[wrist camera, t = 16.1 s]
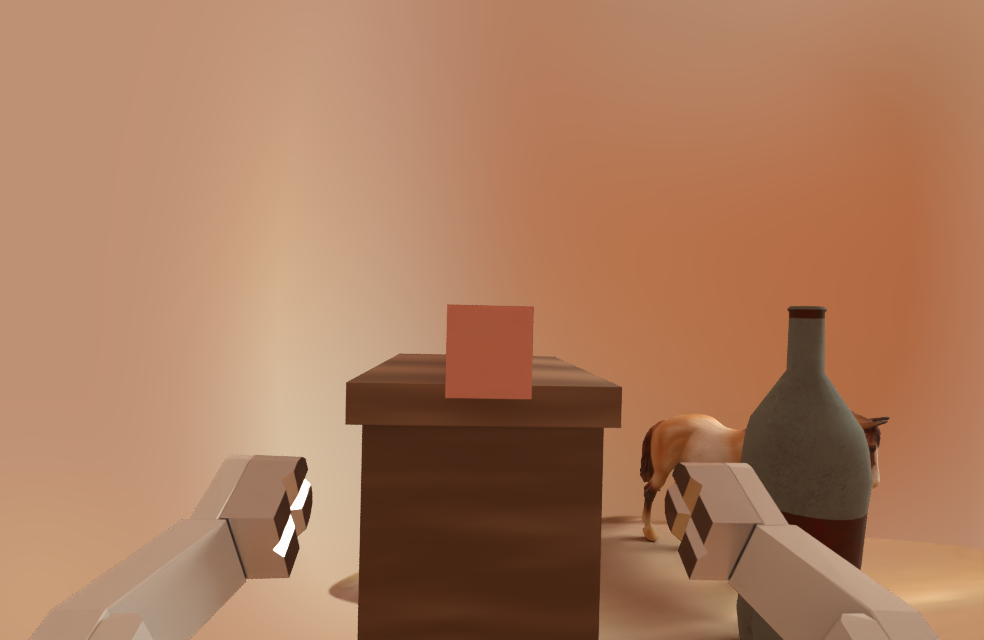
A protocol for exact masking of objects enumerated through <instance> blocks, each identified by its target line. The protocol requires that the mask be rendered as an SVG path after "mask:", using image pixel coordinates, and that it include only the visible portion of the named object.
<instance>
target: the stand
mask: <svg viewBox="0 0 984 640" xmlns="http://www.w3.org/2000/svg"><path fill="white" fill-rule="evenodd" d="M445 384H446V355H439V354H438V355H437V354H436V355H435V354H398V355H396V356H395V357H393V358H391V359H389V360H387V361H385V362H384V363H382V364H380V365H378V366H376V367H374V368H372V369H370V370H369V371H367V372H365V373H363V374H361V375H360V376H358V377H356V378H354V379H352V380H350V381H348V382H347V383H346V424H351V425H354V424H355V425H363V426H362V432H363V433H362V472H361V513H360V515H361V516H360V558H359V560H360V561H359V602H358V606H359V607H358V640H598V637H599V597H600V556H601V515H602V514H601V513H602V475H603V474H602V473H603V434H604V428H621V403H622V387H621V386H618V385H616V384H614V383H612V382H609V381H607V380H605V379H603V378H600V377H598V376H596V375H594V374H592V373H589V372H587V371H585V370H583V369H580V368H578V367H576V366H574V365H571V364H569V363H567V362H565V361H563V360H560V359H558V358H556V357H541V356H537V357H536V356H532V398H531V399H481V398H445Z"/></svg>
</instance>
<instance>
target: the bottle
mask: <svg viewBox="0 0 984 640" xmlns="http://www.w3.org/2000/svg"><path fill="white" fill-rule="evenodd" d="M788 311H789V330H788V352H787V370H786V371H785V373H784V374H783V375H782V376H781V378H780V379H779V380H778V382H777V383H776V384H775V385H774V387H773V388H772V389H771V391H770V392H769V393H768V395H767V396H766V397H765V398H764V400H763V401H762V402H761V403H760V405H759V406H758V407H757V409H756V410H755V411H754V412H753V414H752V415H751V416H750V419H749V422H748V425H747V428H746V431H745V435H744V442H743V448H742V455H741V461H740V463H747V464H748V465H750V466H751V467H752V468H753V470H754V471H755V473H756V475H757V476H758V478H759V479H760V481H761V482H762V484H763V485H764V487H765V488H766V490H767V492H768V493H769V495H770V496H771V498H772V499H773V501H774V502H775V504H776V505H777V507H778V509H779V510H780V512H781V513H782V515H783V516H784V518H785V519H786V521H787V522H788V524H789V525H796V526H798V527H799V528H801V529H802V530H804V531H805V532H806V533H808V534H809V535H811V536H812V537H814V538H815V539H816V540H818V541H819V542H821V543H822V544H823V545H825V546H826V547H828V548H829V549H831V550H832V551H833V552H835V553H836V554H838V555H839V556H841V557H842V558H843V559H845V560H846V561H848V562H849V563H851V564H852V565H853V566H855V567H856V568H858V569H859V570H860V571H861V563H862V555H863V546H864V538H865V529H866V521H867V512H868V507H869V501H870V495H871V490H872V484H873V478H872V469H871V460H870V451H869V446H868V443H867V440H866V436H865V433H864V430H863V428H862V427H861V425H860V424H859V423H858V421H857V420H856V418H855V417H854V415H853V414H852V412H851V411H850V409H849V408H848V406H847V405H846V404H845V402H844V400H843V399H842V398H841V396H840V395H839V393H838V392H837V390H836V389H835V387H834V386H833V384H832V383H831V381H830V380H829V378H828V377H827V375H826V374H825V372H824V366H825V365H824V364H825V363H824V362H825V361H824V359H825V355H824V354H825V347H824V346H825V312H826V311H827V310H826V308H825V307H816V306H815V307H814V306H791V307H789V308H788ZM737 616H738V626H739V636H740V640H784V639H783V638H782V637H781V636H780V635H779V634H778V633H777V632H776V631H775V630H774V629H773V628H772V627H771V626H770V625H769V624H768V623H767V622H766V621H765V620H764V619H763V618H762V617H761V616H760V615H759V614H758V613H757V612H756V611H755V610H754V608H753V607H752V606H751V605H750V604H749V603H748V602H747V601H746V600H745V599H744V598H743V597H742V596H741V595H740V594H739V593H738V599H737Z"/></svg>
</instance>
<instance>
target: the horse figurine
mask: <svg viewBox="0 0 984 640" xmlns="http://www.w3.org/2000/svg"><path fill="white" fill-rule="evenodd" d="M850 411H851V410H850ZM851 412H852V414H853V415H854V417H855V418H856V420H857V421H858V423H859V424H860V425H861V427H862V428H863V430H864V433H865V436H866V440H867V443H868V446H869V451H870V460H871V469H872V478H873V484H872V489H873V488H875V487H877V486H878V485H879V482H880V475H879V470H878V447H879V442H880V430H879V428H878V427H877V426H878V425H881V424H885V423H887V420H888V419H889V417H881V418H871V419H867V418H865V417H862V416H860V415H857V414H856V413H854V412H853V411H851ZM745 431H746V429H745V430H734V429H730V428H727V427H725V426H723V425H722V424H721V423H719V422H718V421H717V420H716V419H714V418H713V417H710V416H708V415H703V414H684V415H679V416H675V417H673V418H670V419H667V420H663V421H660V422H658V423H657V424H656V425H654V426H653V427H652V428H650V429H649V431H648V432H647V434H646V436H645V438H644V441H643V446H642V458H641V469H640V472H641V473H640V476H641V477H642V479H643V481H644V482H648V483H647V484H646V485H645V487H644V497H645V503H644V510H643V514H642V521H643V522H644V524H645V527H644V528H643V533H644V535H645V537H646V538H647V539H648V540H650V541H656V540H658V536H657V533H656V531H655V529H654V527H653V526H652V523H651V506H652V502H653V500H654V498H655V495H656V493H657V491H660V488H661V487H662V486H663V485H664V484H665V481H666V479H667V477H668V475H669V473H670V472H671V471H672V470H673V469H674V468H675V466H676V465H677V464H678V463H740V461H741V455H742V448H743V442H744V435H745ZM675 483H676V482H675ZM675 483H674V484H675Z"/></svg>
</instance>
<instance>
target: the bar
mask: <svg viewBox="0 0 984 640" xmlns="http://www.w3.org/2000/svg"><path fill="white" fill-rule="evenodd" d="M533 314H534V307H525V306H484V305H483V306H482V305H447V342H446V384H445V398H481V399H531V398H532V355H533Z"/></svg>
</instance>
